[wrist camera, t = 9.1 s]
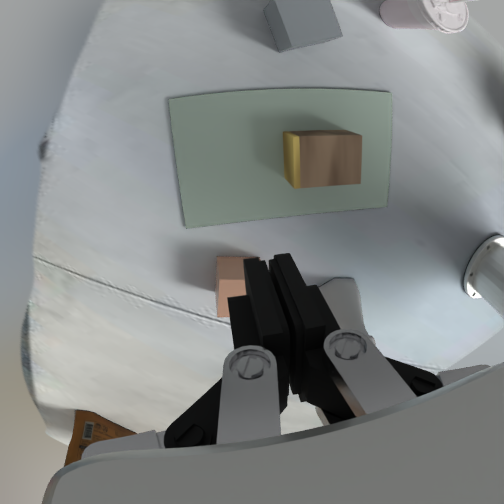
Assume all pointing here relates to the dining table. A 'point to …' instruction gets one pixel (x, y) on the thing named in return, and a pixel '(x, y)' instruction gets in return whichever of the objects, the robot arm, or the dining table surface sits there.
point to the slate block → (301, 23)
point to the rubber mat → (273, 152)
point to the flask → (345, 304)
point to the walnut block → (322, 158)
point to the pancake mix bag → (91, 433)
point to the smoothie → (426, 14)
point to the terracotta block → (229, 282)
